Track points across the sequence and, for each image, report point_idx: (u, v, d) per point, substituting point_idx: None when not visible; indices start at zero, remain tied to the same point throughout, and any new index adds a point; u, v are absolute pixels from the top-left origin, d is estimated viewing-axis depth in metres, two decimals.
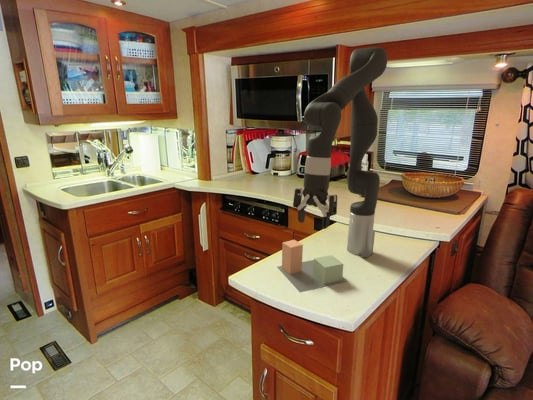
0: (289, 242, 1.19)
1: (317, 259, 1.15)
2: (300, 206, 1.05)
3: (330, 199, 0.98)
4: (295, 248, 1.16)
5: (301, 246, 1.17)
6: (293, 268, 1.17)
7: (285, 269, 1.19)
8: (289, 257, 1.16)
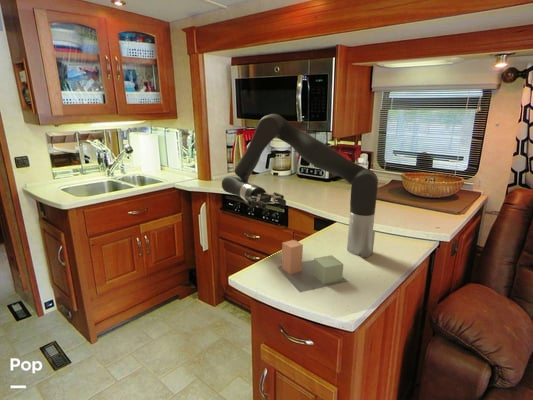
0: (289, 242, 1.19)
1: (317, 259, 1.15)
2: None
3: None
4: (295, 248, 1.16)
5: (301, 246, 1.17)
6: (293, 268, 1.17)
7: (285, 269, 1.19)
8: (289, 257, 1.16)
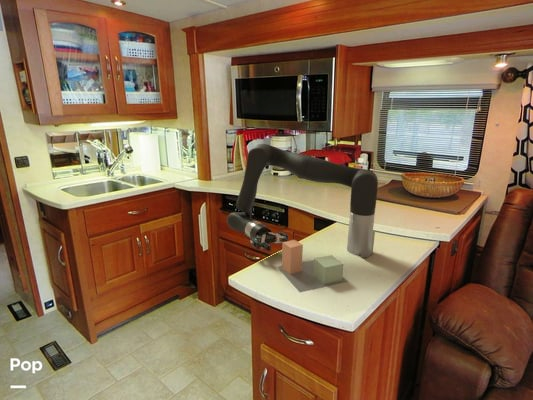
0: (289, 242, 1.19)
1: (317, 259, 1.15)
2: None
3: None
4: (295, 248, 1.16)
5: (301, 246, 1.17)
6: (293, 268, 1.17)
7: (285, 269, 1.19)
8: (289, 257, 1.16)
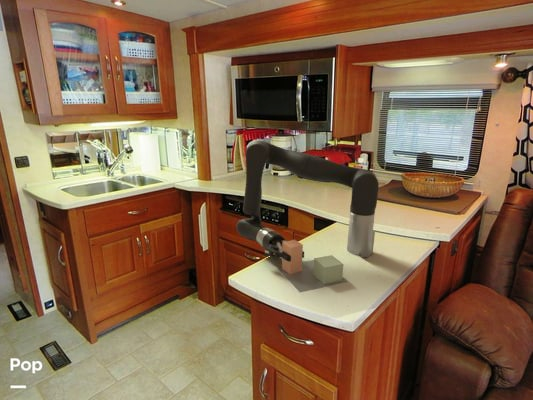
0: (289, 242, 1.18)
1: (317, 259, 1.15)
2: None
3: None
4: (295, 248, 1.16)
5: (301, 246, 1.17)
6: (293, 268, 1.17)
7: (285, 269, 1.19)
8: None
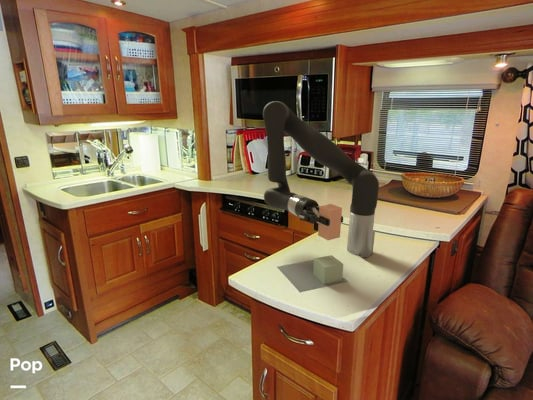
0: (327, 206, 1.10)
1: (317, 259, 1.15)
2: None
3: None
4: (334, 211, 1.07)
5: (340, 209, 1.08)
6: (331, 233, 1.08)
7: (322, 235, 1.10)
8: None
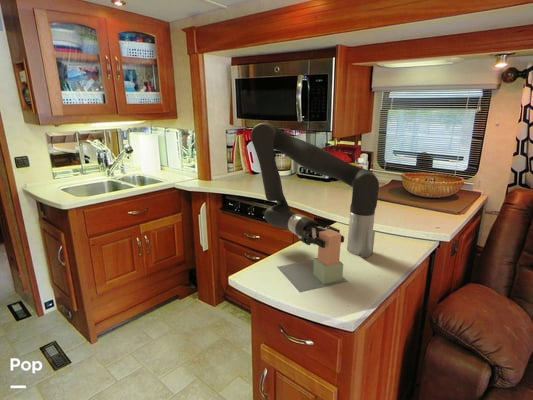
0: (326, 231, 1.12)
1: (317, 259, 1.15)
2: None
3: None
4: (334, 238, 1.09)
5: (339, 236, 1.10)
6: (330, 259, 1.11)
7: (322, 260, 1.13)
8: (327, 247, 1.09)
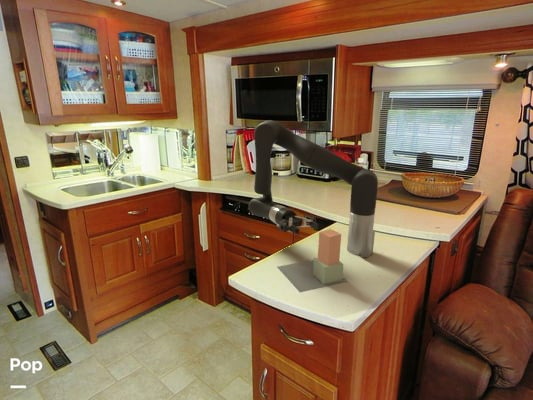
0: (326, 231, 1.12)
1: (317, 259, 1.15)
2: None
3: None
4: (334, 238, 1.09)
5: (339, 236, 1.10)
6: (330, 259, 1.11)
7: (322, 260, 1.13)
8: (327, 247, 1.09)
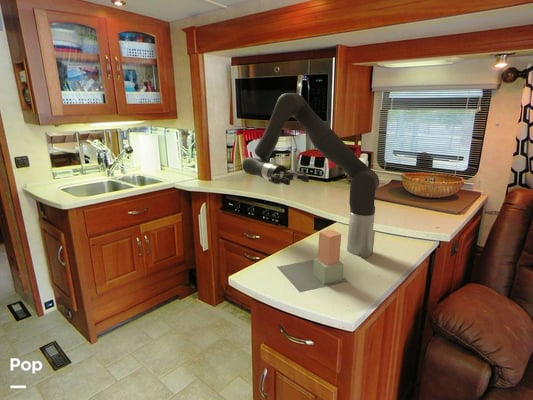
0: (326, 231, 1.12)
1: (317, 259, 1.15)
2: None
3: None
4: (334, 238, 1.09)
5: (339, 236, 1.10)
6: (330, 259, 1.11)
7: (322, 260, 1.13)
8: (327, 247, 1.09)
